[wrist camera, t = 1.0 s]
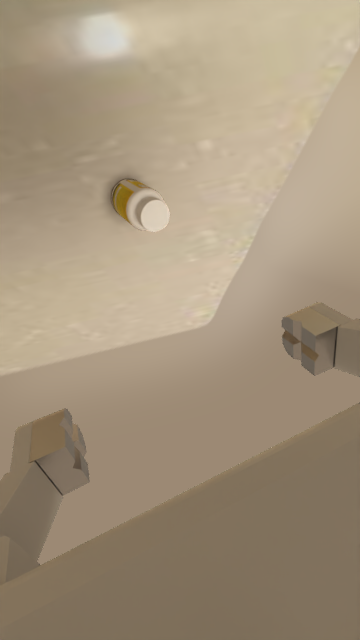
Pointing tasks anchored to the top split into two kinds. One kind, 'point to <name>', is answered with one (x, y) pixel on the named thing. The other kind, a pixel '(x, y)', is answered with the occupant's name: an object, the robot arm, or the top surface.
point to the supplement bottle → (140, 205)
